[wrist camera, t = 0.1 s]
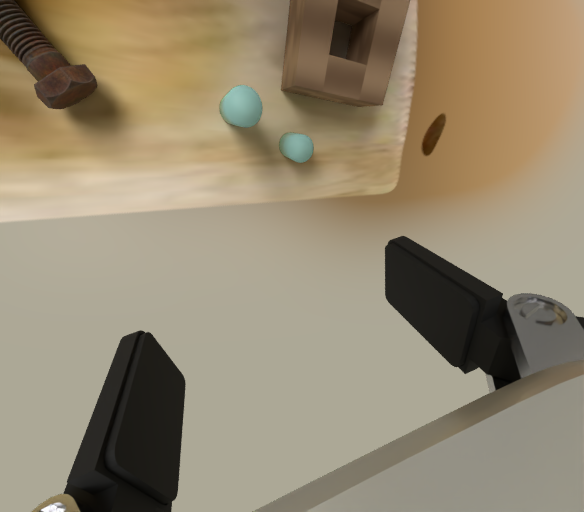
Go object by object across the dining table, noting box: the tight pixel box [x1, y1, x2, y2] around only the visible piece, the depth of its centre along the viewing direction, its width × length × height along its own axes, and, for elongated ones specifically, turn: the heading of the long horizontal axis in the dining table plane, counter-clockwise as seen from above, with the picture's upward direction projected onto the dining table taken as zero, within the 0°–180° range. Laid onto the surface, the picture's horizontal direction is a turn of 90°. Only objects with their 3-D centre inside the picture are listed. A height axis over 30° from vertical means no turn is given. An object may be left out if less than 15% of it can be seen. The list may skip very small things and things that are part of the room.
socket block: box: [281, 0, 410, 107], centre depth 30 cm, size 12×12×6 cm
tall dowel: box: [220, 85, 262, 127], centre depth 28 cm, size 3×3×11 cm
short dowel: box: [279, 132, 313, 163], centre depth 34 cm, size 3×3×5 cm
